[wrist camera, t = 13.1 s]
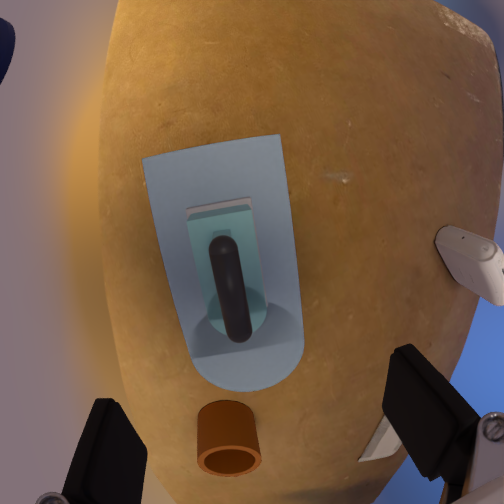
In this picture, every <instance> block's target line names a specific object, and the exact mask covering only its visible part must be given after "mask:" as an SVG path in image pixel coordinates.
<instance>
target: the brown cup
mask: <svg viewBox="0 0 504 504" xmlns="http://www.w3.org/2000/svg"><path fill="white" fill-rule="evenodd" d="M261 461H262V460H261V453H260V448H259V443H258V437H257V432H256V427H255V421H254V416H253V412H252V411H251V409H250V408H249V407H247V406H246V405H244V404H242V403H239V402H236V401H217V402H214V403H211V404H208V405H207V406H205V407H204V408H202V410H201V411H200V412H199V415H198V432H197V463H198V465H199V467H200V468H201V469H202V470H203V471H205V472H207V473H209V474H212V475H217V476H225V477H231V476H234V477H237V476H240V475H243V474H247V473H249V472H251V471H253V470H255V469H256V468H257V467H259V465H260V463H261Z"/></svg>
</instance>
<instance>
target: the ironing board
mask: <svg viewBox="0 0 504 504" xmlns="http://www.w3.org/2000/svg"><path fill="white" fill-rule="evenodd" d="M142 163H143V169H144V174H145V180H146V185H147V190H148V195H149V201H150V205H151V210H152V215H153V220H154V224H155V229H156V233H157V238H158V242H159V246H160V250H161V255H162V259H163V263H164V267H165V271H166V274H167V278H168V282H169V286H170V290H171V293H172V297H173V300H174V304H175V308H176V311H177V314H178V318H179V321H180V325H181V328H182V331H183V335H184V338H185V341H186V344H187V347H188V350H189V354H190V357H191V360H192V362H193V364H194V366H195V368H196V369H197V371H198V372H199V373H200V374H201V375H202V376H203V377H204V378H205V379H206V380H207V381H209V382H210V383H212V384H214V385H216V386H218V387H220V388H223V389H227V390H231V391H238V392H250V391H257V390H261V389H265V388H268V387H270V386H273V385H275V384H277V383H278V382H280V381H282V380H283V379H284V378H286V377H287V376H288V375H289V374H290V373H291V372H292V371H293V370H294V369H295V368H296V366H297V364H298V363H299V361H300V359H301V357H302V354H303V350H304V330H303V319H302V308H301V297H300V287H299V277H298V268H297V259H296V250H295V241H294V233H293V225H292V217H291V209H290V201H289V194H288V186H287V179H286V172H285V165H284V158H283V152H282V145H281V139H280V134H275V135H266V136H259V137H251V138H245V139H238V140H231V141H225V142H219V143H214V144H208V145H203V146H197V147H192V148H187V149H182V150H177V151H173V152H168V153H164V154H159V155H155V156H151V157H146V158H142ZM243 197H251V200H252V206H253V213H254V219H255V225H256V232H257V238H258V245H259V251H260V258H261V264H262V271H263V277H264V284H265V290H266V297H267V304H268V307H267V314H266V317H265V320H264V322H263V323H262V325H261V326H260V327H259V328H258V329H257V330H256V331H254V332H252V335H251V337H250V338H249V340H247V341H246V342H244V343H235V342H233V341H231V340H230V339H229V338H228V336H227V335H225V334H223V333H221V332H219V331H217V330H216V329H215V328H214V327H213V326H212V324H211V323H210V321H209V319H208V315H207V311H206V307H205V303H204V299H203V295H202V290H201V286H200V282H199V278H198V273H197V269H196V265H195V260H194V256H193V251H192V246H191V242H190V237H189V232H188V227H187V222H186V221H187V215H186V208H188V207H193V206H199V205H204V204H209V203H215V202H220V201H226V200H232V199H237V198H243Z"/></svg>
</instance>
